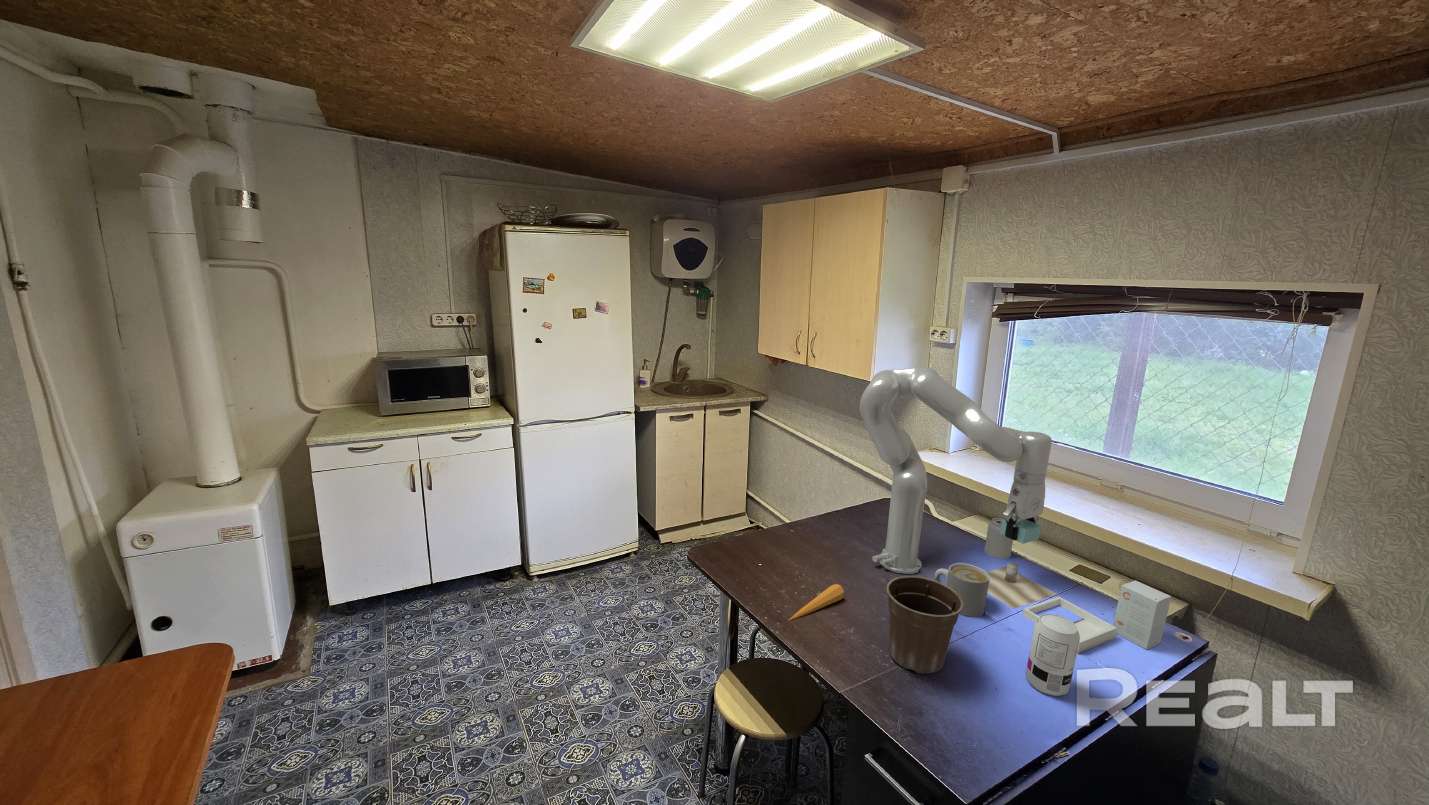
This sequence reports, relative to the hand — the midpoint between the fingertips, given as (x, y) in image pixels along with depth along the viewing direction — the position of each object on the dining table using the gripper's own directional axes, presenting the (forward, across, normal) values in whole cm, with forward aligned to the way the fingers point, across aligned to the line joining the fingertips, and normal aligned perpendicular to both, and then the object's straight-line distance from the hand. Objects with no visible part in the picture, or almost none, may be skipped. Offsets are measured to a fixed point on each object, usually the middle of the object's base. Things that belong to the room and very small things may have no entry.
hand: (1019, 535), depth 154 cm
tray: (+16, -6, -19) cm, 26 cm away
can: (+16, +12, +13) cm, 24 cm away
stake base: (+16, -3, -2) cm, 16 cm away
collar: (0, 0, 0) cm, 0 cm away
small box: (+16, +7, -29) cm, 34 cm away
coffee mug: (+16, -22, 0) cm, 27 cm away
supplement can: (+16, -30, -29) cm, 45 cm away
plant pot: (+16, -49, -10) cm, 53 cm away
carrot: (+16, -59, +15) cm, 63 cm away
